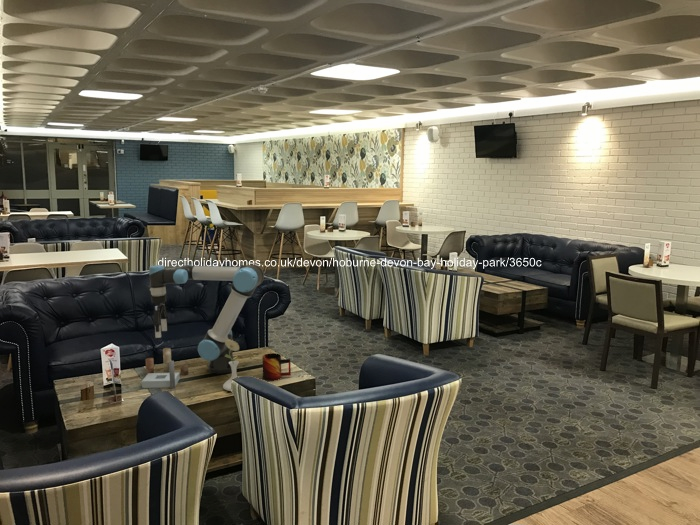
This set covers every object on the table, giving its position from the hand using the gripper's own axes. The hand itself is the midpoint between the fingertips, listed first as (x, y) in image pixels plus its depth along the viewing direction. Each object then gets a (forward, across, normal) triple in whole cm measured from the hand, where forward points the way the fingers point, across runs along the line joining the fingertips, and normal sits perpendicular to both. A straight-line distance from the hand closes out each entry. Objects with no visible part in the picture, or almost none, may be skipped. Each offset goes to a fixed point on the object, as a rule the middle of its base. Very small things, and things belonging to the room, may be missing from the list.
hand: (161, 334), depth 295 cm
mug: (+25, +9, +59) cm, 65 cm away
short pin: (+23, 0, +10) cm, 25 cm away
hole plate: (+23, +14, +1) cm, 27 cm away
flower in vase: (+24, +24, +39) cm, 51 cm away
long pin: (+23, -1, +2) cm, 23 cm away
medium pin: (+22, 0, -8) cm, 24 cm away
